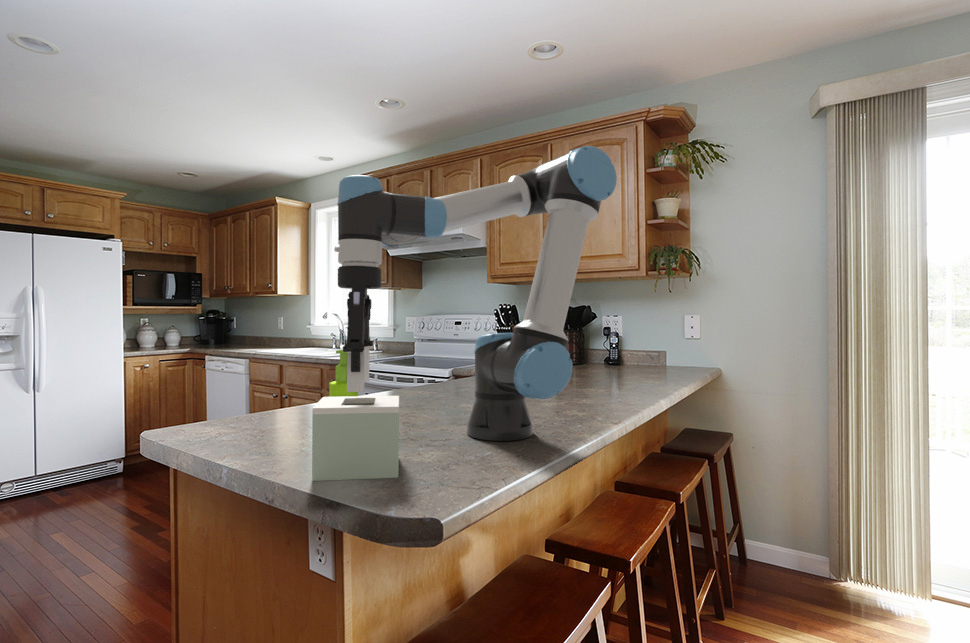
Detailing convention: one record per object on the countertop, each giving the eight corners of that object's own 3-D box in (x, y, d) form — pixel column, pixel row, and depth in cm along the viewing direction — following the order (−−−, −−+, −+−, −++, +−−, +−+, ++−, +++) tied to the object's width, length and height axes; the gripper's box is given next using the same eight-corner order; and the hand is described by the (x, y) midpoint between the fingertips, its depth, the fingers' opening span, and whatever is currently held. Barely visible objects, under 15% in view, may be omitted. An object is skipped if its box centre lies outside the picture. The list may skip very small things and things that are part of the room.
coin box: (398, 458, 101) (399, 395, 101) (398, 477, 89) (398, 406, 89) (322, 460, 99) (323, 396, 99) (312, 480, 87) (312, 408, 87)
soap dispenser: (355, 449, 108) (355, 350, 107) (323, 447, 109) (324, 350, 109) (367, 442, 113) (367, 349, 113) (337, 440, 115) (337, 348, 114)
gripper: (345, 271, 105) (344, 377, 106) (328, 258, 81) (327, 397, 81) (383, 271, 106) (383, 377, 107) (378, 259, 82) (377, 396, 82)
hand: (359, 386), depth 94 cm, fingers open, 13 cm apart
